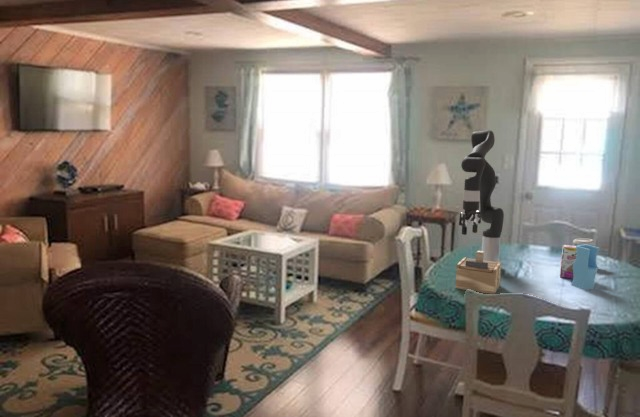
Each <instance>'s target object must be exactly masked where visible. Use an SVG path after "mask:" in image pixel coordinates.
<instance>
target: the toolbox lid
mask: <svg viewBox="0 0 640 417" xmlns="http://www.w3.org/2000/svg"><path fill="white" fill-rule="evenodd" d="M497 264H498V262H493V261H485V260H483V262H477V261H476V258H470V257H469V258H468V257H467V259H466V260H465V261H464V262H463V263H462V264H461V265H460V268H464V269H471V270H478V271H485V272H493V269H494V268H495V266H496V265H497Z"/></svg>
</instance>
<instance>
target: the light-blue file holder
mask: <svg viewBox="0 0 640 417" xmlns="http://www.w3.org/2000/svg"><path fill="white" fill-rule="evenodd" d="M576 249H577V257H576V260H575V262H574V264H573V279H572V281H571V283H570V285H571V286H572V287H575V288H577V289H580V290H584V291H587V290H592V289H595V279H596V278H595V277H596V275H597V272H598V270H599V268H598V264H597V256H598V253H599V250H600V249H601V248H600V247H599V246H595V245H593V246H591V245H586V244H583V245H577V246H576Z"/></svg>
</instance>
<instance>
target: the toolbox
mask: <svg viewBox="0 0 640 417" xmlns="http://www.w3.org/2000/svg"><path fill="white" fill-rule="evenodd" d="M467 258H468V257H465V256H463V257H462V259H461V260H460V261H458V263H457V264H456V272H455V273H456V275H455V289H458V290H465V291H468V290H467V289H471V290H474V291H473V292H476V291H477V293H484V294H491V295H495V294H496V293H497V291H498V290H499V288H500V286H501V276H502V264H503V262H502V261H499V263H498V264H497V265H496V266H495V268H494V269H493V272H485V271H478V270H471V269H464V268H460V265H461V264H462V263H463V262H464V261H465V260H466V259H467Z"/></svg>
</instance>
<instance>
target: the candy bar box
mask: <svg viewBox="0 0 640 417" xmlns="http://www.w3.org/2000/svg"><path fill="white" fill-rule="evenodd" d="M561 249H562V250H561V258H560V260H561V261H560V268H559V269H560V270H559V277H560V278H563V279H564V278H565V279H572V280H573V264H574V262H575V260H576V257H577V249H576V246H573V245H568V244H562V248H561Z"/></svg>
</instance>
